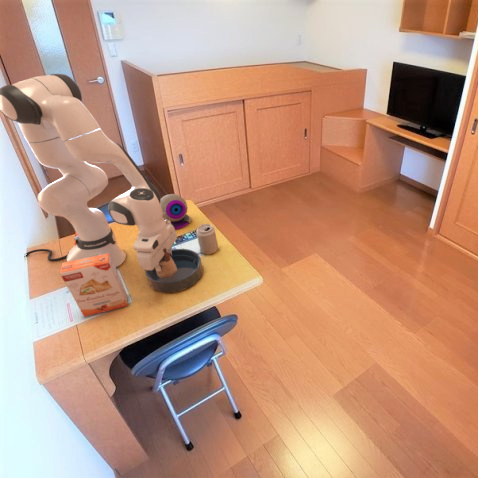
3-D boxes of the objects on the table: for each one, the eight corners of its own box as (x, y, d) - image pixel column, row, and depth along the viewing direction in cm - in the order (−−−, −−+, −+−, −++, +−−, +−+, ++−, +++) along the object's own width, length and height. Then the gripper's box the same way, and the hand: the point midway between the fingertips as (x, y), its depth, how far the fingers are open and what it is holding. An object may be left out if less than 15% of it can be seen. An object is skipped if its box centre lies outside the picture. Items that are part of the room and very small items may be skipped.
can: (213, 256, 150) (209, 233, 143) (197, 254, 151) (192, 231, 144) (221, 246, 156) (217, 223, 149) (205, 244, 157) (200, 221, 150)
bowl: (148, 299, 130) (144, 288, 126) (150, 264, 145) (146, 254, 142) (205, 286, 135) (202, 276, 132) (201, 255, 151) (198, 244, 147)
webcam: (168, 233, 163) (160, 205, 154) (158, 221, 171) (149, 194, 162) (195, 223, 170) (188, 196, 161) (184, 212, 177) (177, 186, 169)
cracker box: (84, 318, 122) (58, 273, 109) (85, 306, 126) (61, 261, 114) (128, 306, 126) (108, 262, 114) (128, 295, 131) (109, 251, 118)
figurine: (167, 264, 137) (159, 239, 130) (181, 269, 135) (174, 244, 128) (153, 275, 132) (144, 250, 125) (167, 280, 130) (159, 255, 123)
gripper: (160, 216, 131) (169, 245, 139) (130, 249, 115) (142, 280, 123) (176, 217, 131) (184, 247, 139) (148, 251, 114) (159, 282, 123)
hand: (164, 263), depth 131 cm, fingers closed on figurine, 6 cm apart
